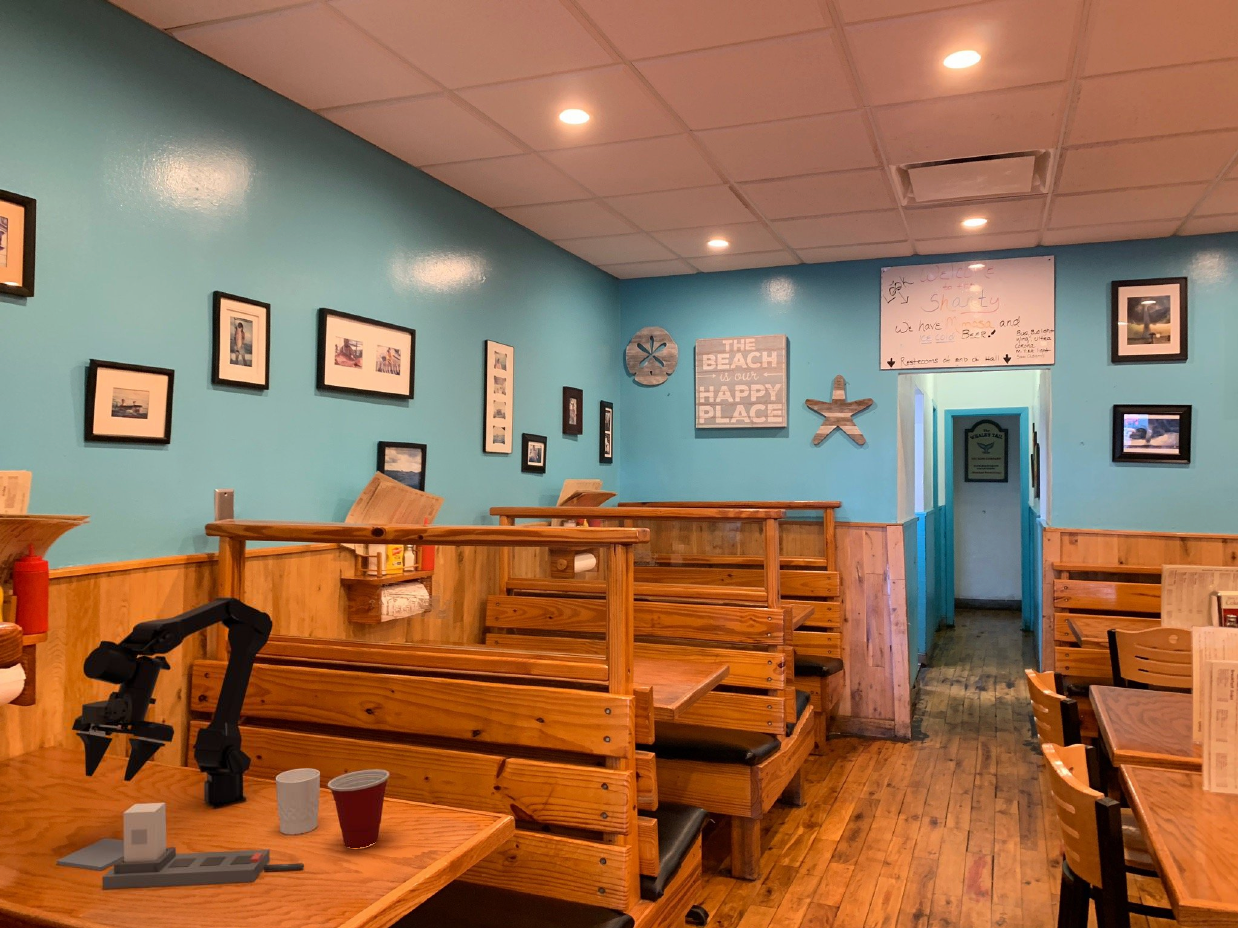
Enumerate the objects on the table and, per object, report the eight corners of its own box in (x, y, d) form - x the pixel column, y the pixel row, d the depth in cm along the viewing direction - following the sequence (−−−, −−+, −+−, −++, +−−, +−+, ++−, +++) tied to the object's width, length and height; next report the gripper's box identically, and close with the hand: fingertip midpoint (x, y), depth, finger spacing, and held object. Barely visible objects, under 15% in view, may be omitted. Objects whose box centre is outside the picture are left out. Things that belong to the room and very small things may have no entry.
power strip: (102, 889, 145) (102, 867, 145) (126, 867, 153) (126, 847, 153) (297, 879, 147) (296, 858, 147) (310, 858, 155) (310, 838, 155)
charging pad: (105, 841, 165) (105, 837, 165) (148, 846, 162) (148, 843, 162) (56, 863, 155) (56, 860, 155) (101, 870, 152) (101, 866, 152)
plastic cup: (353, 828, 169) (352, 764, 169) (402, 834, 165) (401, 769, 165) (315, 851, 158) (314, 783, 158) (367, 858, 155) (366, 789, 155)
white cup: (329, 822, 172) (328, 770, 172) (302, 838, 164) (301, 783, 164) (295, 818, 174) (294, 766, 174) (267, 833, 167) (266, 779, 167)
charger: (135, 860, 151) (135, 803, 152) (166, 858, 152) (165, 802, 152) (123, 870, 147) (123, 813, 147) (155, 869, 148) (154, 811, 148)
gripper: (62, 678, 161) (29, 768, 155) (140, 683, 155) (109, 778, 149) (112, 689, 171) (83, 775, 165) (187, 695, 164) (160, 785, 158)
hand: (107, 778), depth 159 cm, fingers open, 9 cm apart
